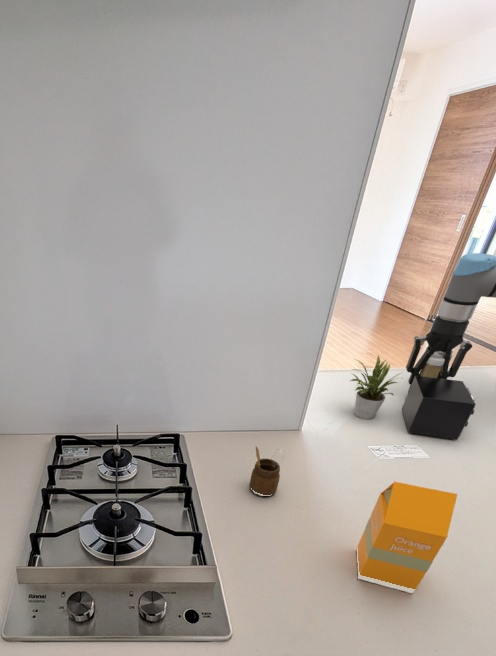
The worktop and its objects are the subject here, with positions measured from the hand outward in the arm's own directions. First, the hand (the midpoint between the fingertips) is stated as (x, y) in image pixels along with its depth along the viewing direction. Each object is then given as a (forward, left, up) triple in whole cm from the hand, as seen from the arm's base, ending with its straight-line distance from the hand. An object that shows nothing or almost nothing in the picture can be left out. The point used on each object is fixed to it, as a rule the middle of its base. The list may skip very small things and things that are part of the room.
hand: (419, 395), depth 129 cm
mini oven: (0, +15, -1) cm, 15 cm away
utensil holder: (+39, +57, -2) cm, 69 cm away
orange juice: (+16, +73, -2) cm, 75 cm away
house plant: (+16, +13, -2) cm, 21 cm away
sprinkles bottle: (0, 0, -1) cm, 1 cm away
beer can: (-4, -10, -2) cm, 11 cm away
